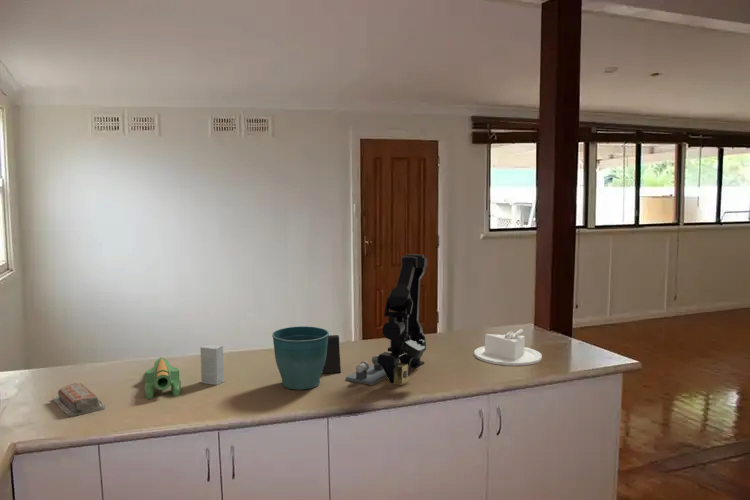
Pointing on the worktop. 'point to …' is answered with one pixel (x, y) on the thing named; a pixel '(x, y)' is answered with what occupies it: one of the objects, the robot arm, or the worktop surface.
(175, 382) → the toy spaceship
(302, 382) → the flower pot
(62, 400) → the packaged product
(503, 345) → the dish
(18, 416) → the worktop surface
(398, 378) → the tan block
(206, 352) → the skincare box
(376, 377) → the grey plate with pegs
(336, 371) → the phone stand
